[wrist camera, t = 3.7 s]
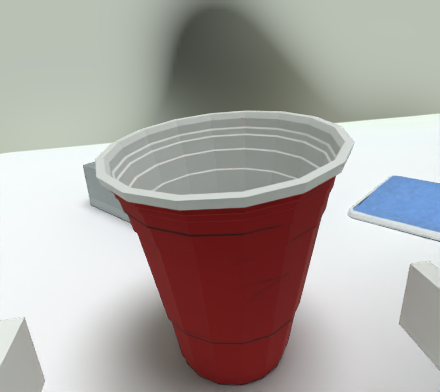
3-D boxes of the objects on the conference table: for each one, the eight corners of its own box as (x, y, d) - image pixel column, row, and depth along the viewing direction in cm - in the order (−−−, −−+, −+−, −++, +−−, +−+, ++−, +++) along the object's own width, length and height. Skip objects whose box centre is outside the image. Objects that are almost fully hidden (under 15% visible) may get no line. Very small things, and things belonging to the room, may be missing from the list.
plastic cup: (90, 362, 20) (36, 145, 15) (215, 267, 27) (205, 105, 23) (261, 503, 13) (261, 205, 9) (361, 328, 21) (390, 120, 16)
